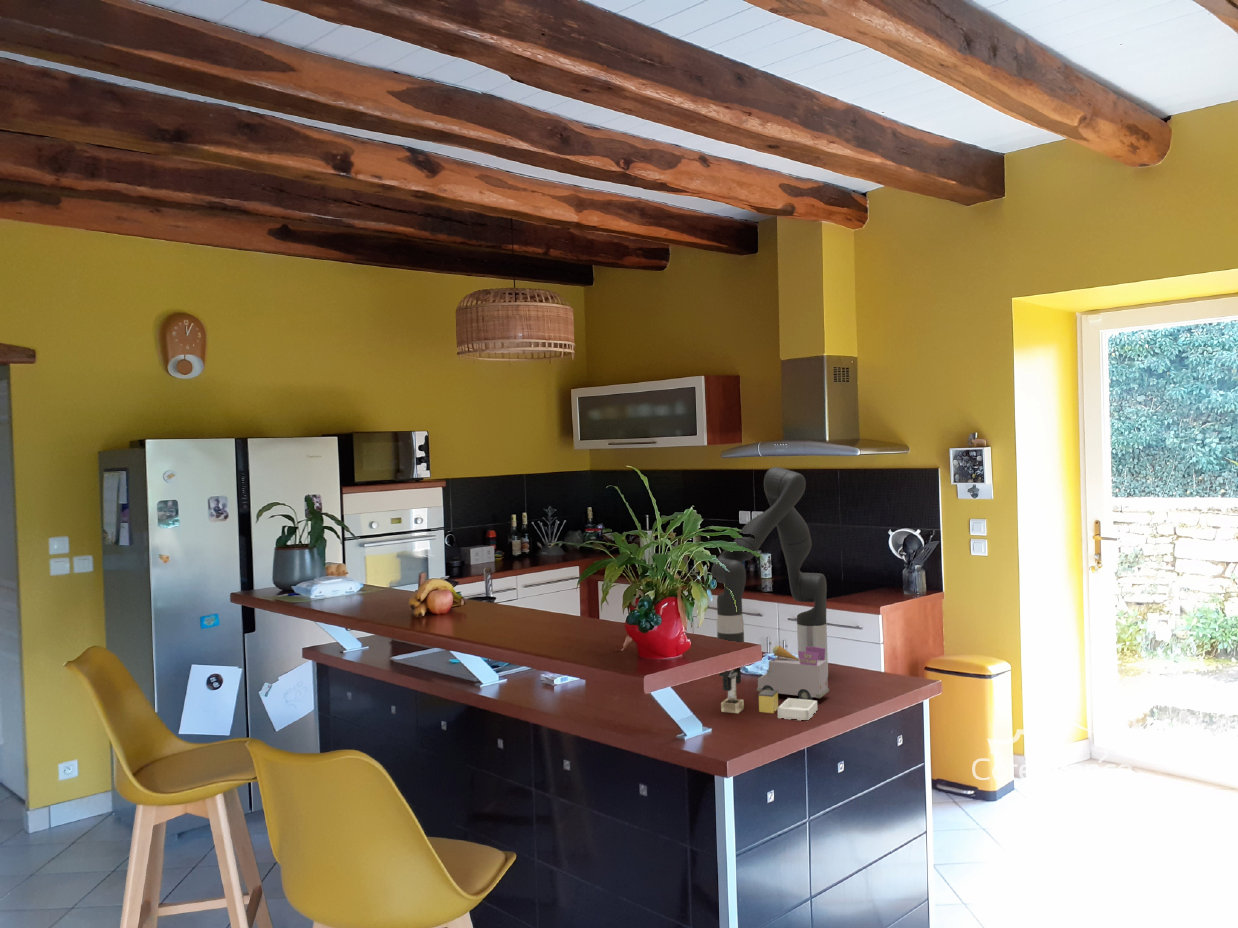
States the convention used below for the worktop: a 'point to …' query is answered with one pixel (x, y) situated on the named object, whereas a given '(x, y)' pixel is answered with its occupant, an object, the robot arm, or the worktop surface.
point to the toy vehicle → (796, 673)
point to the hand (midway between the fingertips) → (732, 686)
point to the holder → (732, 706)
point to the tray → (797, 709)
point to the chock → (768, 701)
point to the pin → (732, 689)
